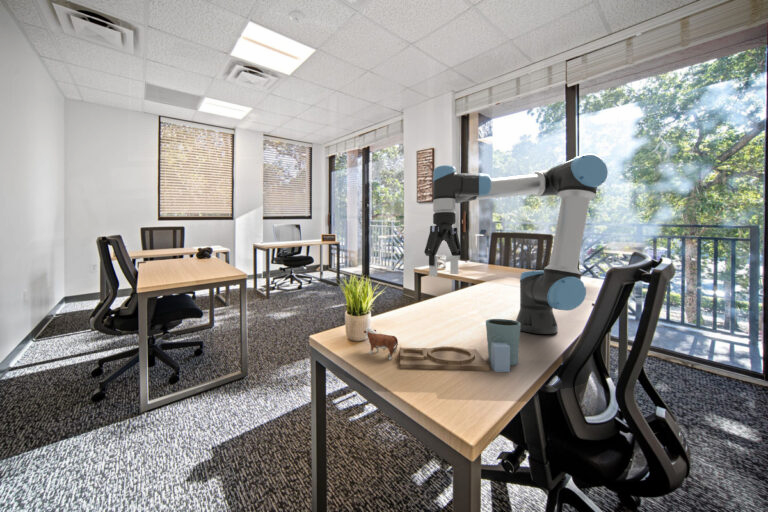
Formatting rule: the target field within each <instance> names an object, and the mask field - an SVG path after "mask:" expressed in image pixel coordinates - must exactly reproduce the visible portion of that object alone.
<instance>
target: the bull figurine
mask: <svg viewBox="0 0 768 512" xmlns="http://www.w3.org/2000/svg"><path fill="white" fill-rule="evenodd" d="M363 333H364V334H365V336H366V337H367V339H368V341H369V344H370V351H369V355H370V354H371V355H373V351H374V349H376V353H380V351H379V349H382V351H385V350H386V349H387V350H388V354H387V356H388V361H391V360H392V359H393V355H395V354H396V353H397V351H398V350H397V348H398V345H399V341H398V338H397V336H395V335H392V334H391V335H389V334H384V333H381V332H377V330H376V329H372V327H368V328H366V330H363Z"/></svg>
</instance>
